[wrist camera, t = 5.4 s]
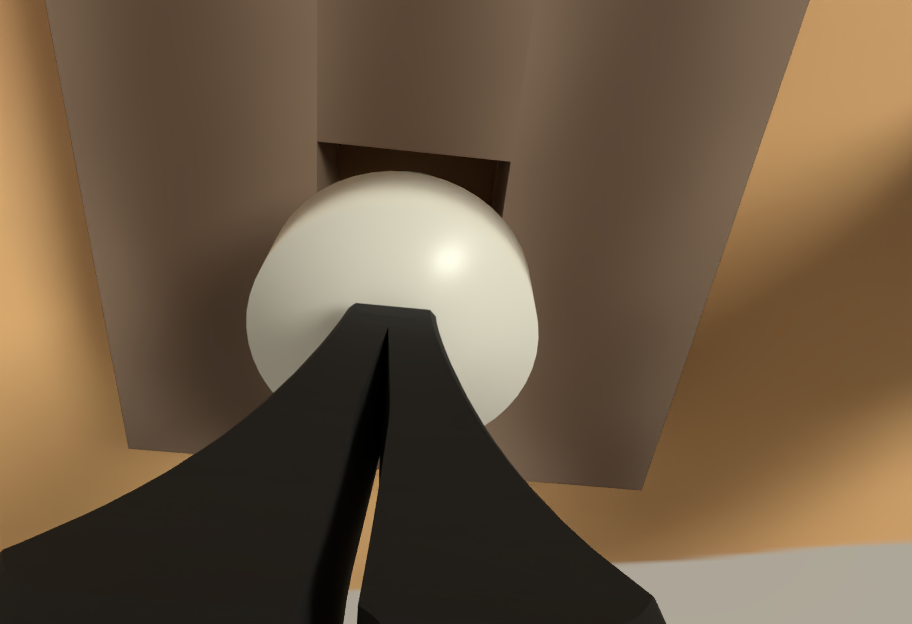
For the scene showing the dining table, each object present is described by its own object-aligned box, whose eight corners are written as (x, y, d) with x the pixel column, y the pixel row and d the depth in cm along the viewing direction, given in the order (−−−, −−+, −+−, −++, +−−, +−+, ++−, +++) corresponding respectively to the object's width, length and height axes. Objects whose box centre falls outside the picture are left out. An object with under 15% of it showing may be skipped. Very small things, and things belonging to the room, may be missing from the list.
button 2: (537, 137, 14) (562, 223, 11) (503, 337, 17) (515, 459, 13) (294, 111, 14) (238, 189, 11) (297, 319, 17) (252, 438, 13)
